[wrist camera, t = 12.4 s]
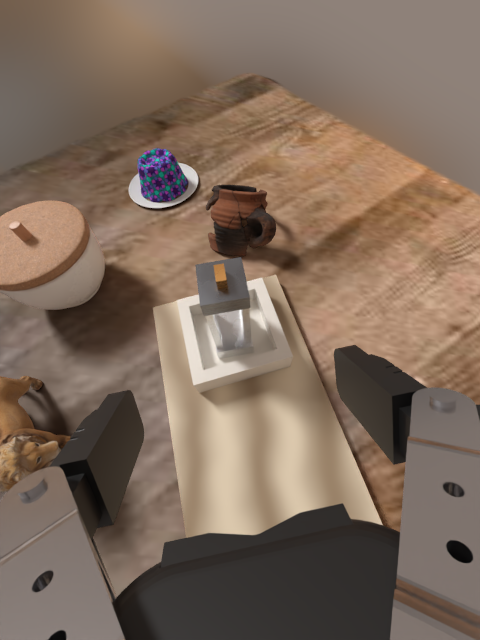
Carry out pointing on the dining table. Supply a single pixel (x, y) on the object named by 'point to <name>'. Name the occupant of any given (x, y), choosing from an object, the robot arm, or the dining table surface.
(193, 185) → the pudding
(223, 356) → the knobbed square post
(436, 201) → the dining table surface
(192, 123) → the dining table surface
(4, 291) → the lidded bowl
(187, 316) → the box
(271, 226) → the pottery mug
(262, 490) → the board
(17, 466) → the lion figurine
